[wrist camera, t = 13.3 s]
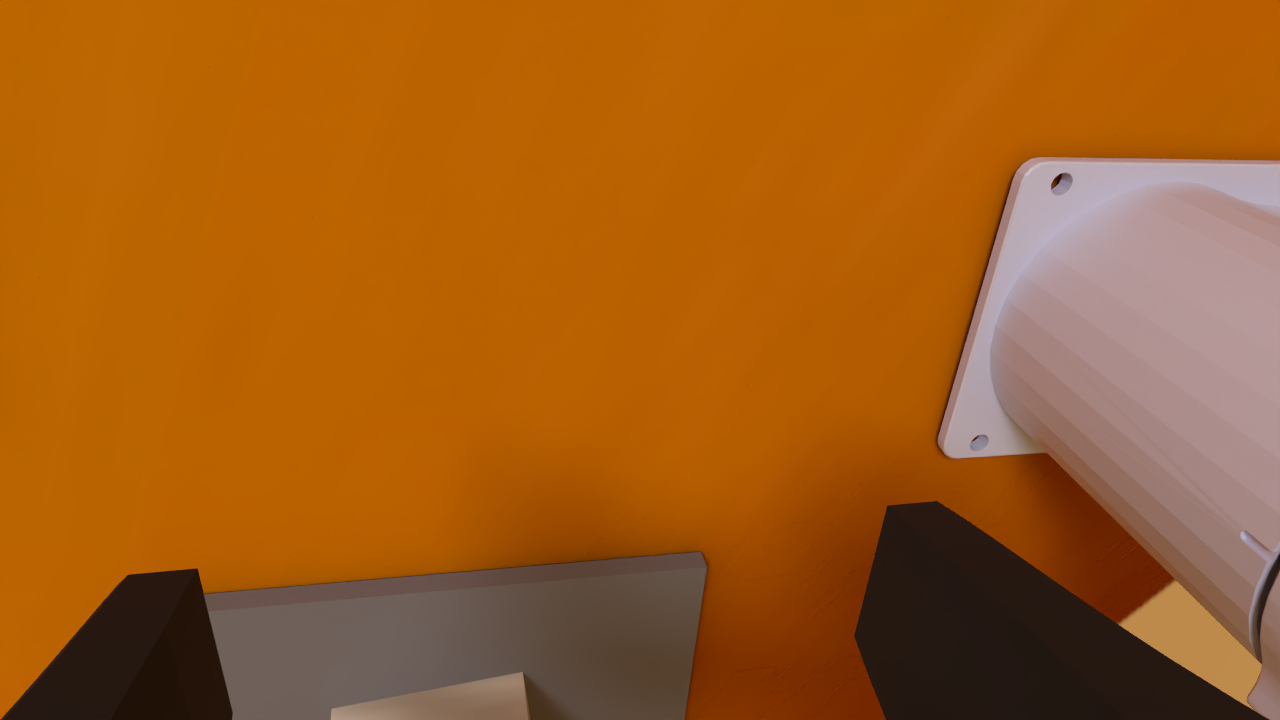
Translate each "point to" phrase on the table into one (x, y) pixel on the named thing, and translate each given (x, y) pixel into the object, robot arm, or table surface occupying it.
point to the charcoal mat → (470, 639)
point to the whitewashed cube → (449, 703)
